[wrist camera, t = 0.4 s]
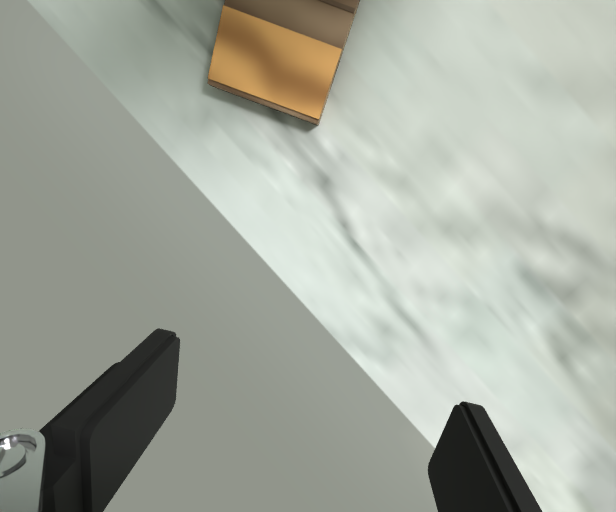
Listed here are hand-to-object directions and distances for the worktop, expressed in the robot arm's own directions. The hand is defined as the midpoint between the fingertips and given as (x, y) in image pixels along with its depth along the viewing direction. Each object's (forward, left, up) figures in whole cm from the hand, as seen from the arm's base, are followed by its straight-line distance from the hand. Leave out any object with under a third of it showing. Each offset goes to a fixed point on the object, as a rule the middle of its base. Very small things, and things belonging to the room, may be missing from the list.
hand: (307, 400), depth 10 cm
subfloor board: (-17, -12, -30) cm, 37 cm away
